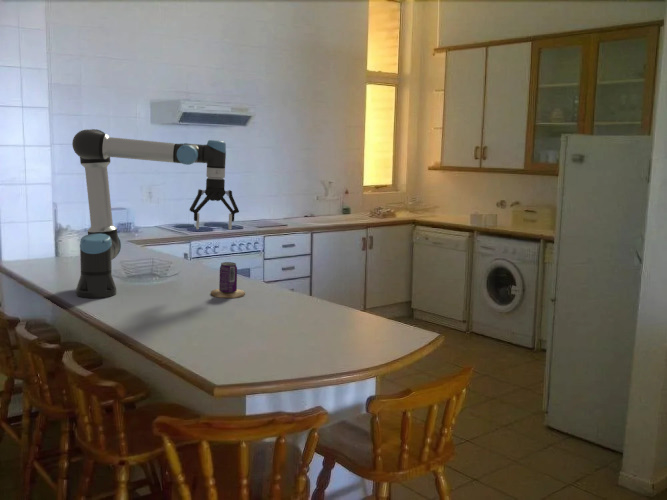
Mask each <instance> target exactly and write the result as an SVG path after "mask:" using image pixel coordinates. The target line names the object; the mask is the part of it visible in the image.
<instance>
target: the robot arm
mask: <svg viewBox="0 0 667 500" xmlns="http://www.w3.org/2000/svg"><path fill="white" fill-rule="evenodd" d="M71 145H72V149H73V152H74V153H75V154H76V155H77V156H78V157H79V162H80V165H81V166H83V168H84V170H85V171H84V172H85V180H86V181H85V182H86V192H87V201H88V210H89V219H90V220H89V221H90V227H89V228H88V230H87V234H85V235H83V236H82V237H81V238H80V240H79V241H80V243H79V249H80V250H79V251H80V257H79V258H80V276H79V279H78V283H77V284H76V291H75V293H76V296H78V297H81V298H88V299H102V298H109V297H113V296H115V295H116V294H117V286H116V283H115V280H114V277H113V274H112V260H115V259H116V257H118V256H119V254H120V252H121V249H122V241H121V239H120V237H119V234H118V227H116V226H115V225H114V223H113V213H112V212H113V211H112V203H111V193H110V184H109V183H110V181H109V172H108V166H109V165H110V163H111V158H116V159H118V158H119V159H128V160H129V159H130V160H139V161H140V160H142V161H153V162H161V163H163V162H166V163H174V164H183V165H193V164H194V163H197V164H198V163H199V164H206V177H207V178H205V179H206V180H205V181H206V183H205V189H201V188H200V189H199V188H198V190H197V195H196V196H195V198H194V200H193V202H192V204H191V206H190V207H189V211H190V212H191V213H193V221H194V222H195V229H196V230H199V229H200V213H199V212H200V211H201V210H202V209H203V208H204V206H205V205H206V204H207V203H208V202H209V201H212V202H214V201H216V202H219V201H221V202H222V204H223V205H224V206H225V207H226V209H227V210H229V212H230V213H228V230H230V231H231V230H232V228H233V225H232V224H233V222H235V214H238V213H240V210H239V207H238V206H237V204H236V201H235V199H234V197H233V191H232V190H230V189H228V190H225V187H226V186H225V184H226V183H225V178H226V160H227V159H226V156H227V149H226V148H227V144H226V142H225V141H223V140H212V139H211V140H210V139H209V140H208V141H207V144H197V143H187V142H185V143H173V142H163V141H153V140H143V139H142V140H141V139H132V138H131V139H130V138H120V137H111V136H109V135H108V134H107V133H106V132H104V131H102V130H101V129H93V128H91V129H82V130H80V131H78V132H76V134H75V135H74V136H73V138H72V144H71ZM204 194H205V195H206V196H205V198H204V199H203V200H202V201H201V202H200V203H199V201H200V199H201V198H202V196H203V195H204ZM225 195H226V196H228V198H229V201H230V202H231V205H232V207H233V208H232V207H231V206H230V204H229V202H227V201H226V199H225V197H224V196H225ZM198 203H199V204H198Z"/></svg>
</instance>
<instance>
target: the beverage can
mask: <svg viewBox="0 0 667 500" xmlns="http://www.w3.org/2000/svg"><path fill="white" fill-rule="evenodd" d="M218 289H219V291H221V292H223V293H234V292H235V291H237V289H238V266H237V263H236V262H232V261H224V262H221V263H220V266H219V288H218Z"/></svg>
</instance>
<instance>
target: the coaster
mask: <svg viewBox="0 0 667 500" xmlns="http://www.w3.org/2000/svg"><path fill="white" fill-rule="evenodd" d="M210 295H211V296H212V297H215V298H221V299H239V298H242V297H245V296H246V292H245V291H244V290H243V289H238V288H237V291H235V292H234V293H223V292H221V291H219V288H216V289H213V290H211V291H210Z"/></svg>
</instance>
